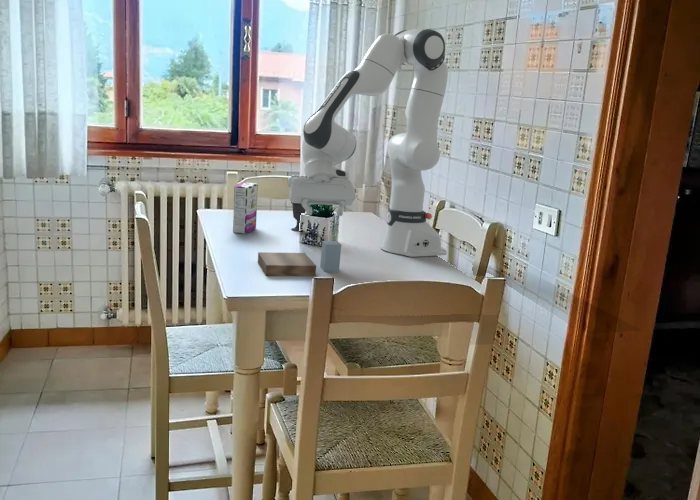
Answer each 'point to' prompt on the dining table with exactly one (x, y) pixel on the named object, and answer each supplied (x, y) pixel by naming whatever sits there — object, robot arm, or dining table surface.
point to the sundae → (297, 213)
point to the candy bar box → (245, 207)
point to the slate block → (330, 255)
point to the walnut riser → (286, 264)
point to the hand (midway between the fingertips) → (324, 214)
